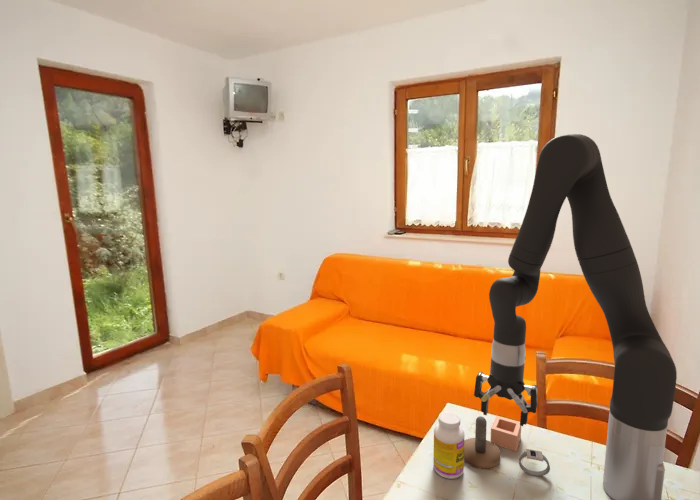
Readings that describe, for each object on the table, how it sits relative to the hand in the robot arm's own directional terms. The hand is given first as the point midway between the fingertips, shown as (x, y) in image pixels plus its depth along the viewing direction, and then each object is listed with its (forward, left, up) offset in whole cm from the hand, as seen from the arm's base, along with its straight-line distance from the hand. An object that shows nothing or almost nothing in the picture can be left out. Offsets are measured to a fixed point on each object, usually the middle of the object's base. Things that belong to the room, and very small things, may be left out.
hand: (503, 418), depth 96 cm
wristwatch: (-8, +8, -6) cm, 13 cm away
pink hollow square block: (-1, -1, -6) cm, 6 cm away
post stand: (+3, +8, -6) cm, 11 cm away
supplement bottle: (+8, +16, -6) cm, 19 cm away
